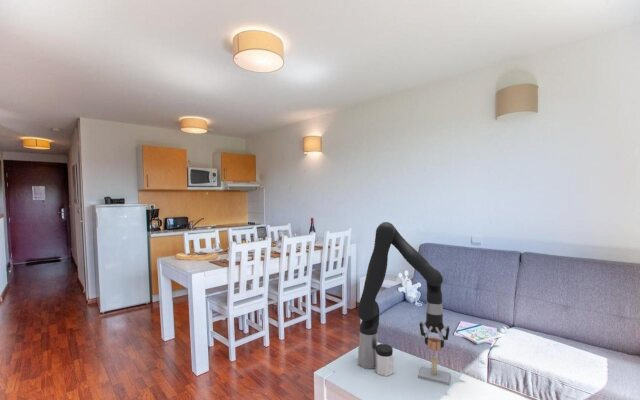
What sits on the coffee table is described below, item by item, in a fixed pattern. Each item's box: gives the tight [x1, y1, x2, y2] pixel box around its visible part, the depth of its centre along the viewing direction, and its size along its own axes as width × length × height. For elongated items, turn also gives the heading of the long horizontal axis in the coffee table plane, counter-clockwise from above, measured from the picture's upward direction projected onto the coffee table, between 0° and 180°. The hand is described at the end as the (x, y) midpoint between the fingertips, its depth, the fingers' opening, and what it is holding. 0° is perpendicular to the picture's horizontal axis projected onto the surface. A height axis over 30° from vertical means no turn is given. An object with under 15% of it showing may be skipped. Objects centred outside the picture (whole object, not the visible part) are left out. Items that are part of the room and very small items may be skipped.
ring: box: [427, 337, 442, 351], centre depth 151 cm, size 6×6×4 cm
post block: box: [417, 355, 451, 386], centre depth 152 cm, size 14×9×9 cm, turn 65°
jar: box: [375, 343, 394, 377], centre depth 156 cm, size 9×8×12 cm
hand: (434, 345), depth 151 cm, fingers closed on ring, 6 cm apart
